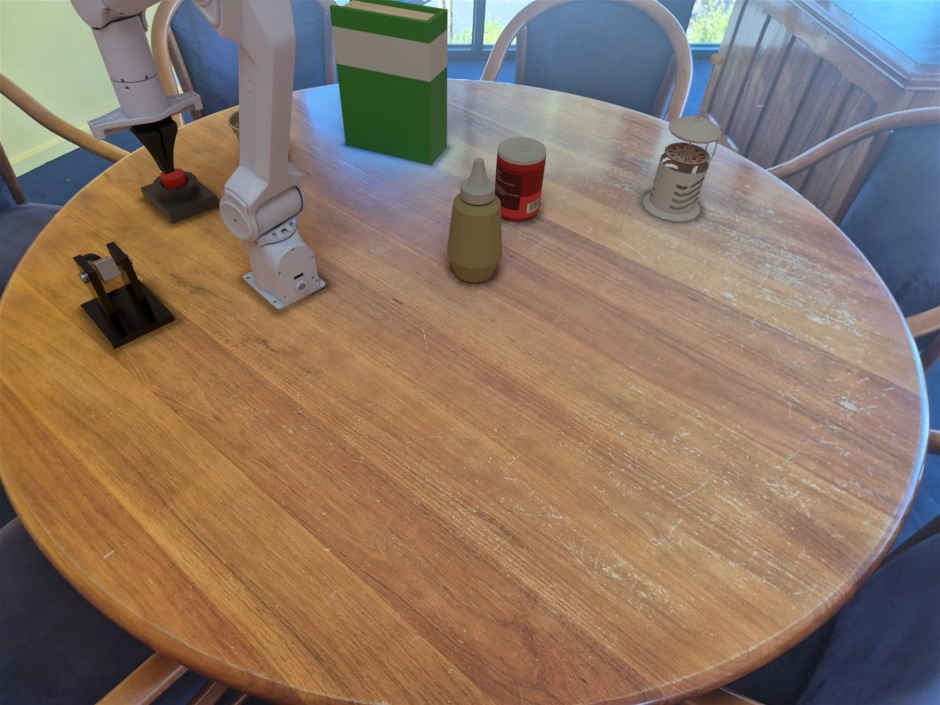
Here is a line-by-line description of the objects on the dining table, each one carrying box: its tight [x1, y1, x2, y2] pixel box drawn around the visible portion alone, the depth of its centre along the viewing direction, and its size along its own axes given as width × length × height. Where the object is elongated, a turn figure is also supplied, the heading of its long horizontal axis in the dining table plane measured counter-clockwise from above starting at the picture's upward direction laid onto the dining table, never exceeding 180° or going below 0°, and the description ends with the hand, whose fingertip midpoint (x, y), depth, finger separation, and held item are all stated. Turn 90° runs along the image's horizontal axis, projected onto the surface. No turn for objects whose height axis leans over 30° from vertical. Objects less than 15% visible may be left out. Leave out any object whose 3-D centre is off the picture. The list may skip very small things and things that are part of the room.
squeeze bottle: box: [446, 157, 503, 283], centre depth 85 cm, size 8×8×18 cm
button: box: [159, 167, 187, 188], centre depth 99 cm, size 4×4×2 cm
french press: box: [641, 52, 724, 222], centre depth 98 cm, size 10×12×25 cm
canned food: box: [494, 136, 547, 223], centre depth 100 cm, size 8×8×11 cm
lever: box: [82, 252, 122, 283], centre depth 81 cm, size 13×3×3 cm, turn 45°
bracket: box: [72, 241, 176, 350], centre depth 79 cm, size 10×8×10 cm
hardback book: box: [329, 0, 449, 166], centre depth 109 cm, size 18×7×24 cm, turn 69°
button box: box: [140, 170, 220, 225], centre depth 100 cm, size 10×8×4 cm
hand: (167, 170), depth 89 cm, fingers closed
